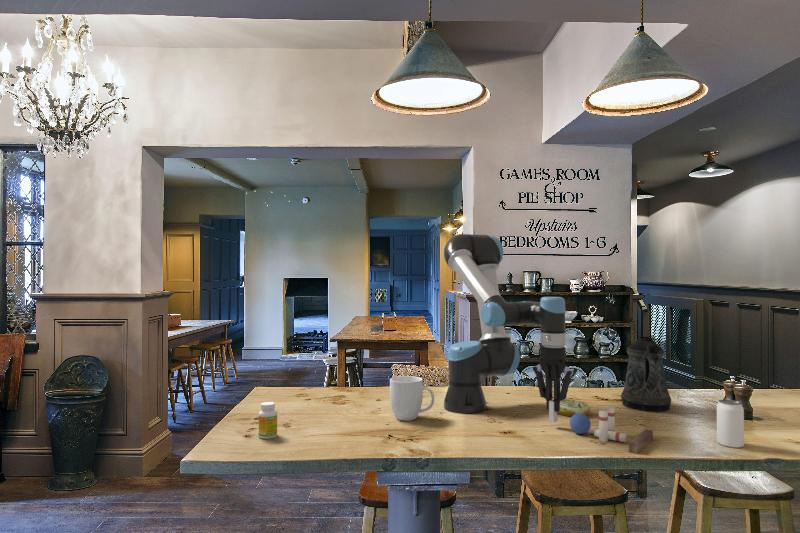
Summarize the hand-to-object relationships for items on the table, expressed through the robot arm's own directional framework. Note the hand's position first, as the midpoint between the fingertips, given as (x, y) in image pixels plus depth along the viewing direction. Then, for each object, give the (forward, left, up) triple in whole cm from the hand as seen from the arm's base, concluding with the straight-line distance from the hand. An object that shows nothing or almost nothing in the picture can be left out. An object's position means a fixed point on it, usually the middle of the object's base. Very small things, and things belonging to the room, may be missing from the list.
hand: (553, 421), depth 163 cm
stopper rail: (+26, 0, -2) cm, 26 cm away
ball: (+9, -1, +1) cm, 9 cm away
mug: (-41, -21, -2) cm, 46 cm away
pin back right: (+16, -3, -2) cm, 17 cm away
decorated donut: (-2, +20, -2) cm, 20 cm away
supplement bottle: (-61, -63, -2) cm, 88 cm away
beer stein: (+16, +46, -2) cm, 49 cm away
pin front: (+13, -1, -1) cm, 13 cm away
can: (+45, +17, -2) cm, 48 cm away
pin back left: (+16, +3, -2) cm, 17 cm away
